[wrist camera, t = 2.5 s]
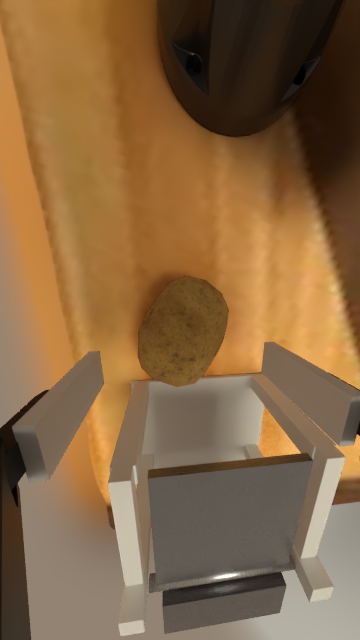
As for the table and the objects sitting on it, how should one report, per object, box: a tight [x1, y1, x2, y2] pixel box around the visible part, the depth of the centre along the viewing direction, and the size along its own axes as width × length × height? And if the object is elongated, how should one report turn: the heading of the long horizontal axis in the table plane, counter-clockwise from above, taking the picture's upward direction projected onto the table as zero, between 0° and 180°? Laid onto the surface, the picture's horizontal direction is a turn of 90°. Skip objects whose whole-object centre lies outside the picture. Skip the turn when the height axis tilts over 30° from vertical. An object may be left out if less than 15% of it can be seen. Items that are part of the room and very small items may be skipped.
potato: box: [138, 276, 229, 387], centre depth 19 cm, size 9×13×7 cm
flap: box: [147, 453, 313, 634], centre depth 17 cm, size 20×14×4 cm
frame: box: [108, 373, 346, 636], centre depth 20 cm, size 18×20×14 cm
